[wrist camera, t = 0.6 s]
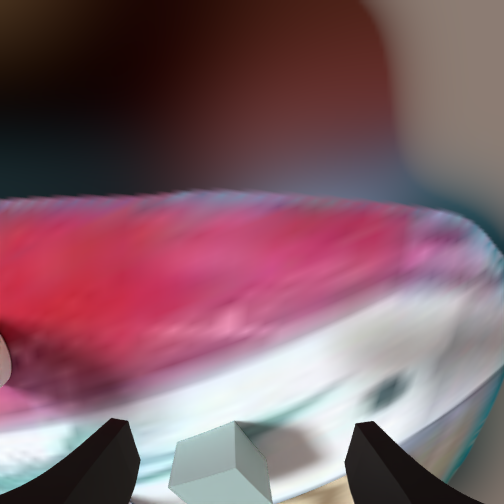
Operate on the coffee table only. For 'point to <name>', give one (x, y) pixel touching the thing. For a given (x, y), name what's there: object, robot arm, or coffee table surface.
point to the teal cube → (220, 469)
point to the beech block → (326, 494)
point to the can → (4, 362)
